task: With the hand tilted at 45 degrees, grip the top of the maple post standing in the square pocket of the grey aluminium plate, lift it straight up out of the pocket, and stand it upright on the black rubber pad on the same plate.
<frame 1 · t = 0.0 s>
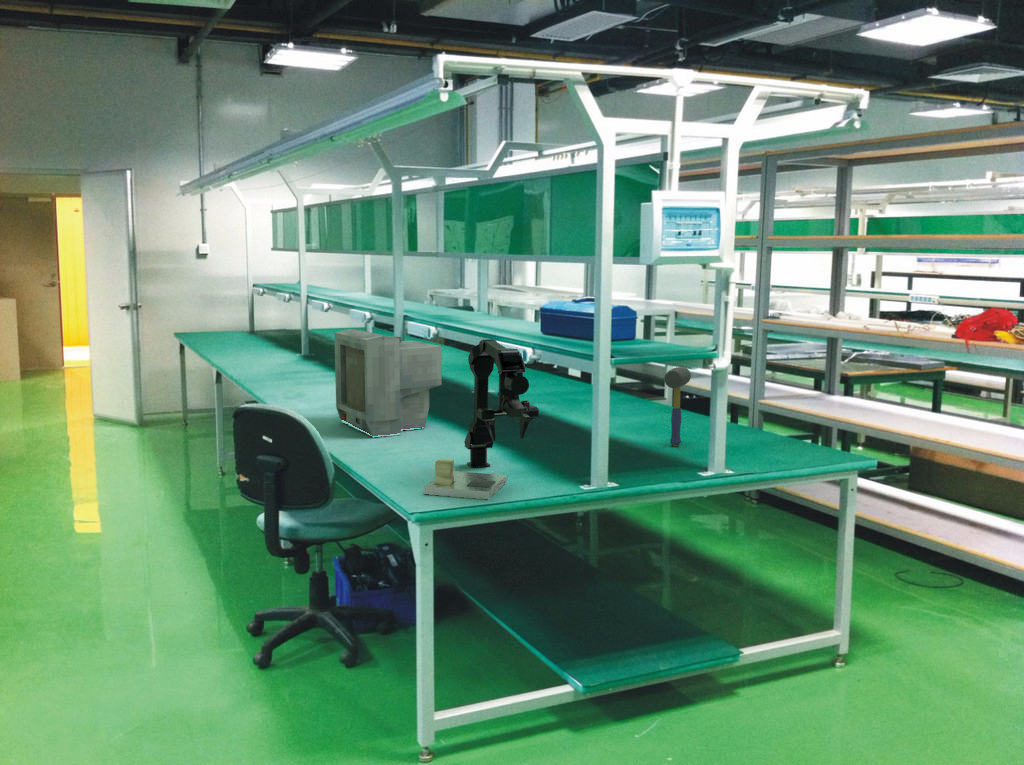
hand: (507, 439, 268), 15 cm above the table, tool pointing down, fingers open, 9 cm apart
crt television: (393, 427, 362), on the table
rubber mallet: (675, 446, 328), on the table
pocket plate: (466, 488, 266), on the table
maple post: (444, 491, 264), resting in pocket plate
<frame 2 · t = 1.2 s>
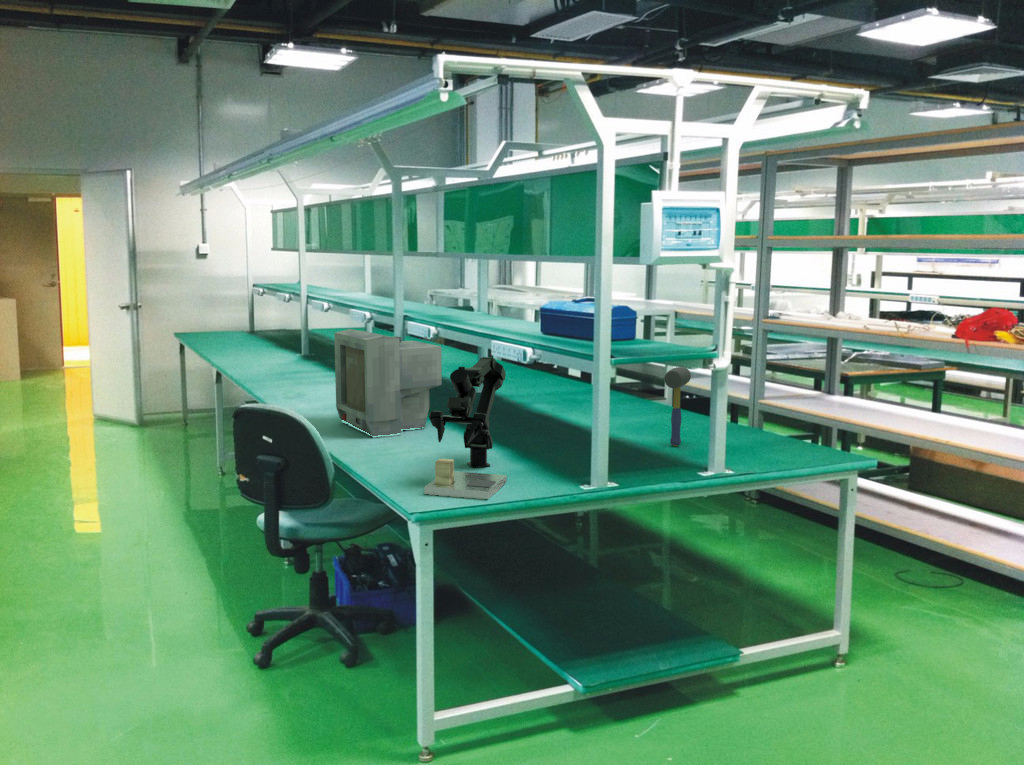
hand: (453, 442, 269), 13 cm above the table, tool tilted 45°, fingers open, 9 cm apart
nothing on the table moved.
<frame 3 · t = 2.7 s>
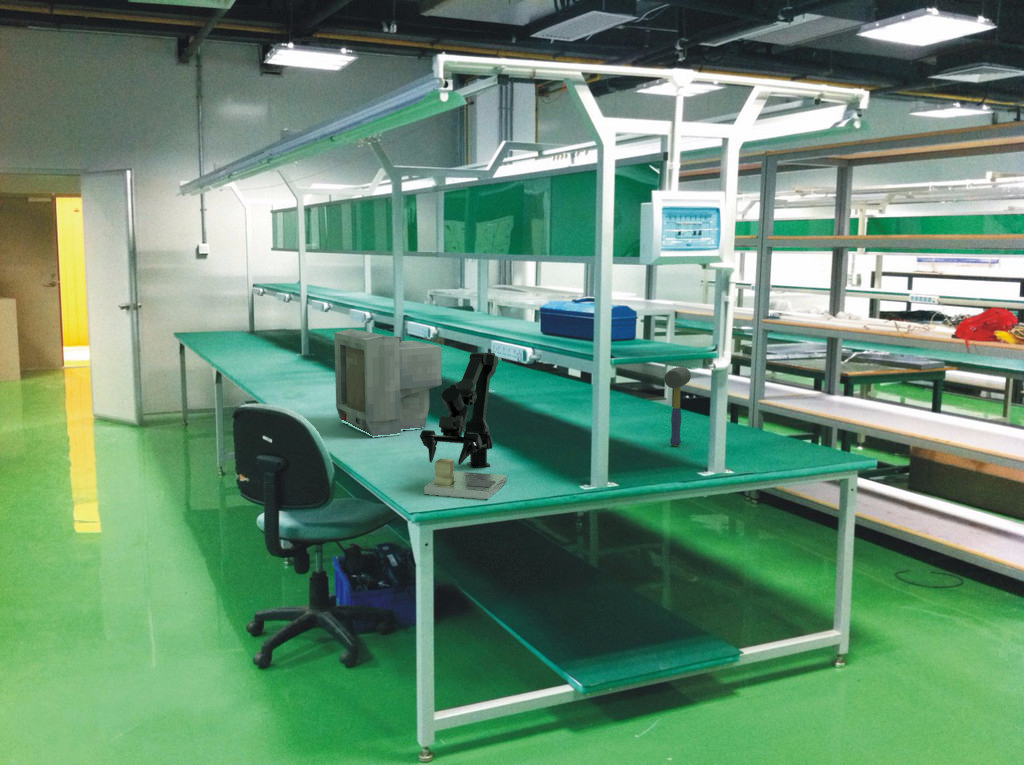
hand: (444, 463, 262), 9 cm above the table, tool tilted 45°, fingers open, 9 cm apart
nothing on the table moved.
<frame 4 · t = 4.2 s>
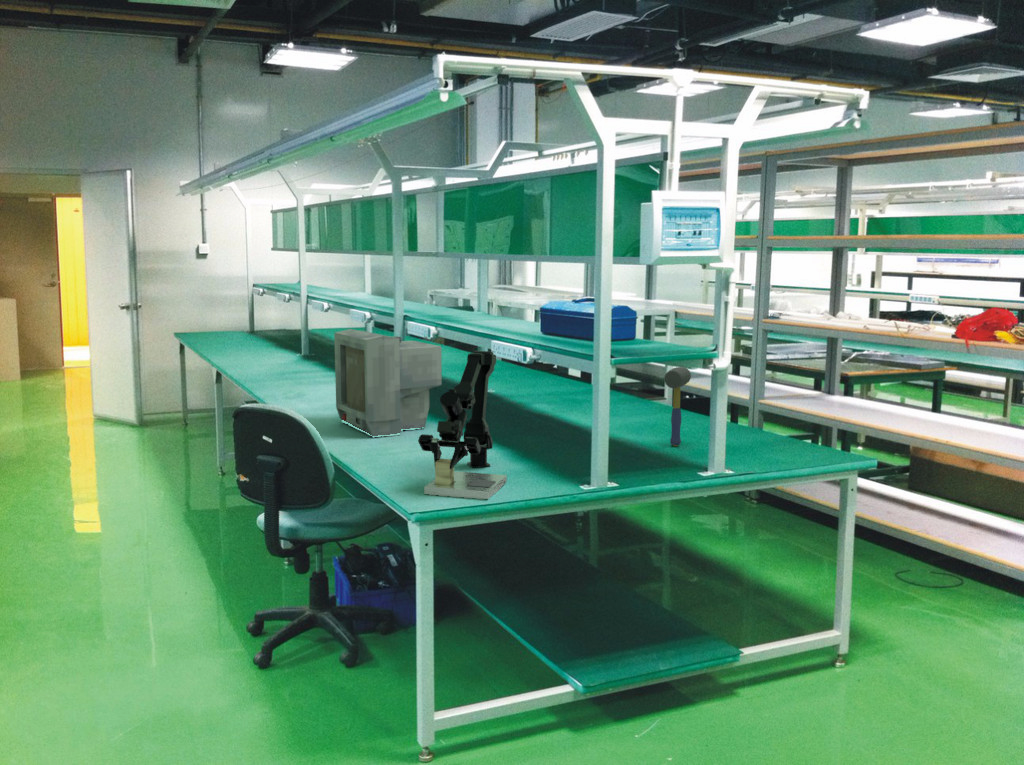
hand: (443, 467, 261), 8 cm above the table, tool tilted 45°, fingers closed on maple post, 4 cm apart
maple post: (444, 491, 263), resting in pocket plate, touching gripper
everything else where it was.
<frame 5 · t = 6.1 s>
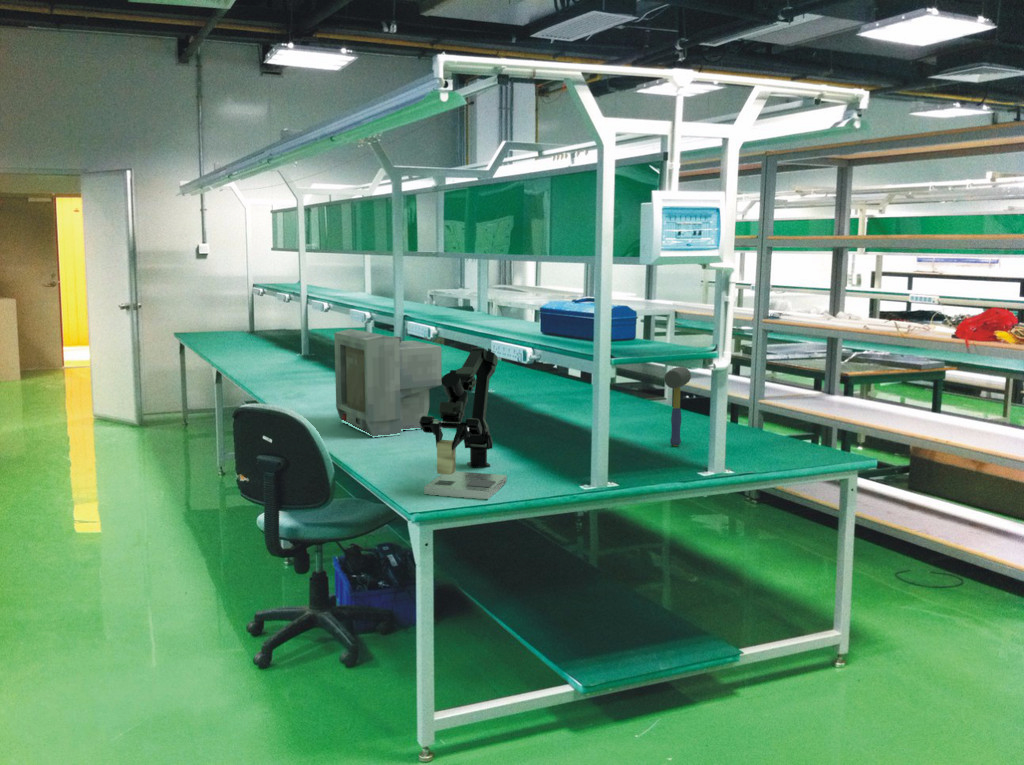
hand: (444, 448, 260), 13 cm above the table, tool tilted 45°, fingers closed on maple post, 4 cm apart
maple post: (446, 472, 263), point 6 cm above the table, touching gripper
everything else where it was.
when the fingers open (11 cm above the table, at t = 8.3 s): maple post stays where it is, resting on pocket plate.
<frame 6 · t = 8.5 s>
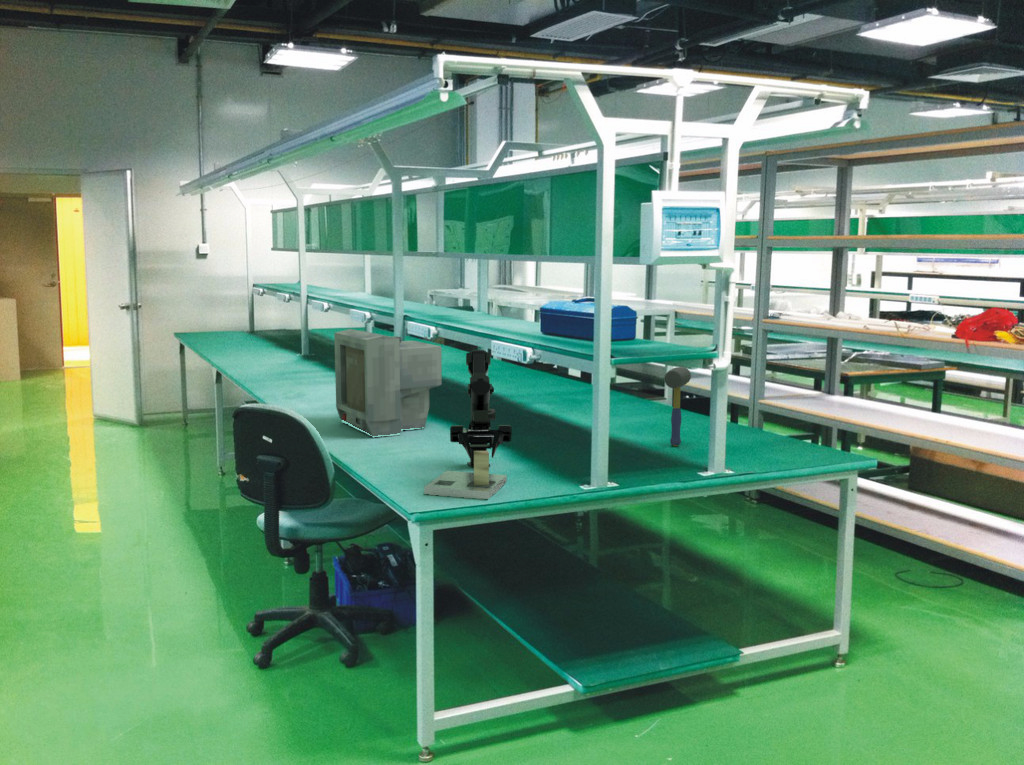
hand: (481, 457, 260), 11 cm above the table, tool tilted 45°, fingers open, 6 cm apart
maple post: (481, 483, 262), point 3 cm above the table, touching pocket plate
everything else where it was.
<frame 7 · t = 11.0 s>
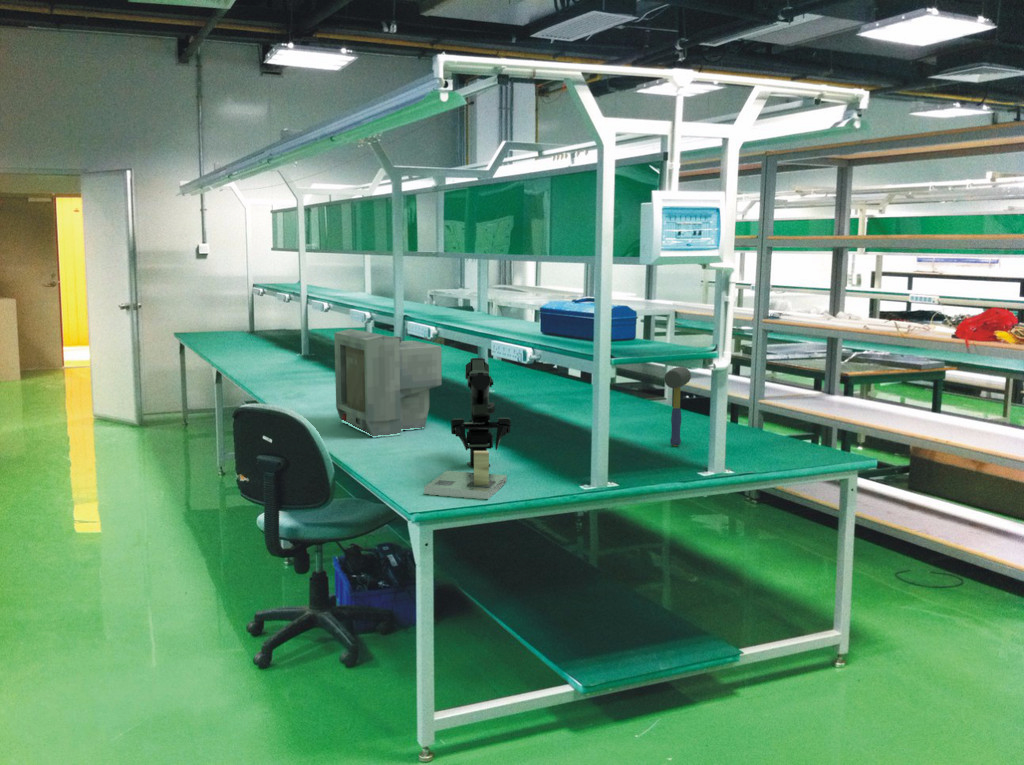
hand: (481, 449, 270), 11 cm above the table, tool tilted 40°, fingers open, 9 cm apart
nothing on the table moved.
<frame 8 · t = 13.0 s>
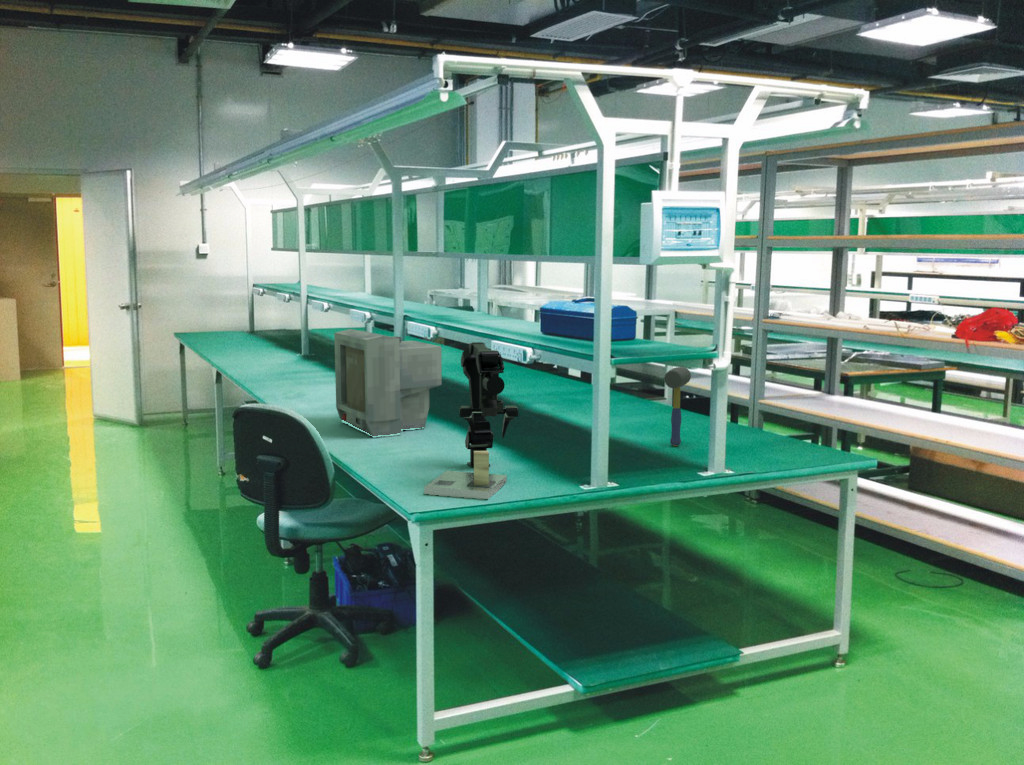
hand: (488, 437, 279), 13 cm above the table, tool pointing down, fingers open, 9 cm apart
nothing on the table moved.
at the end: maple post 0.0 cm from the target spot, point 2.8 cm above the table; maple post tilted 0°; the gripper is holding nothing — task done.
